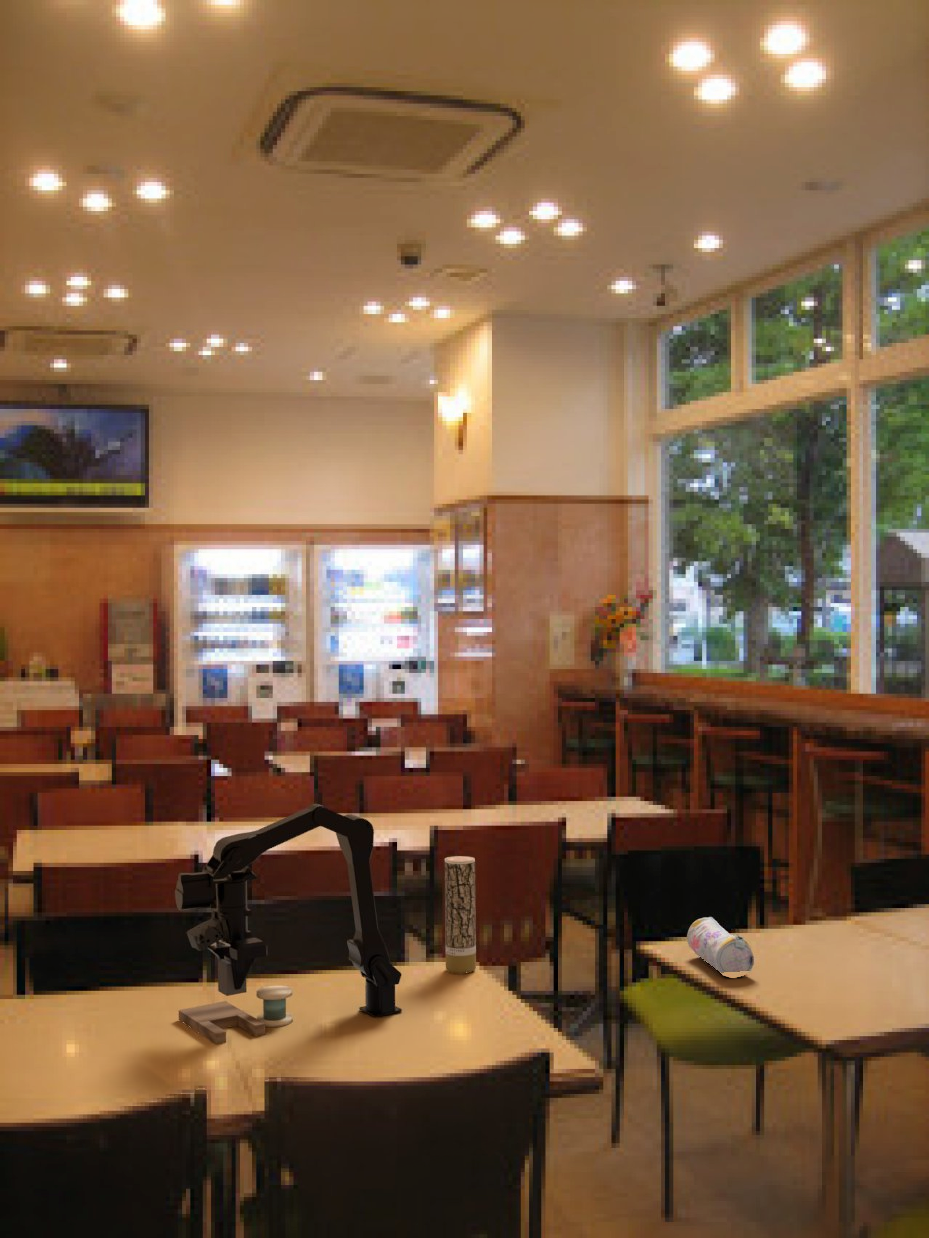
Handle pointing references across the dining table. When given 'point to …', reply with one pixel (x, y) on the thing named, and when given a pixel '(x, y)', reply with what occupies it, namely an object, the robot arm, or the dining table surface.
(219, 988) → the tab block
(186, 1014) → the notch board
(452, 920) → the paper tube
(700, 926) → the pencil case
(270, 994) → the bobbin
